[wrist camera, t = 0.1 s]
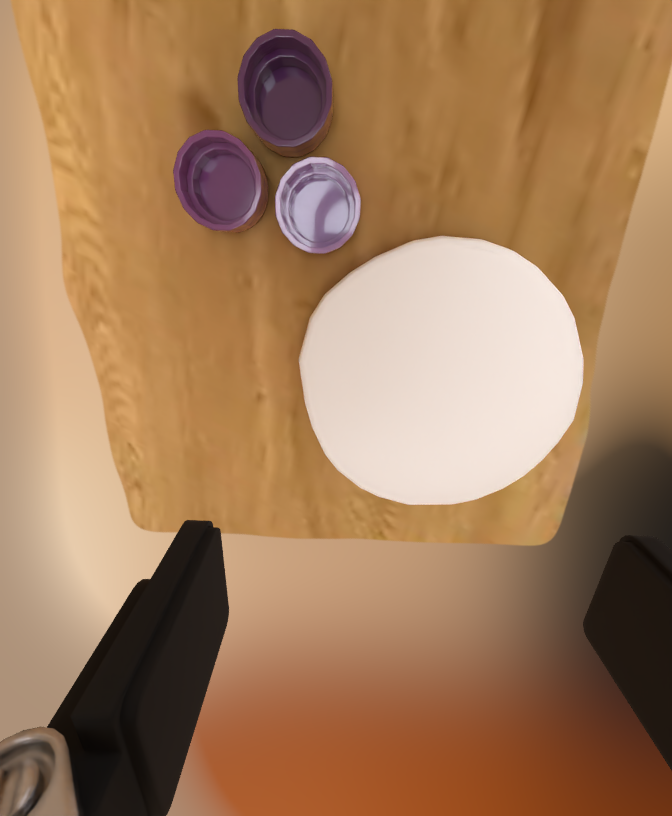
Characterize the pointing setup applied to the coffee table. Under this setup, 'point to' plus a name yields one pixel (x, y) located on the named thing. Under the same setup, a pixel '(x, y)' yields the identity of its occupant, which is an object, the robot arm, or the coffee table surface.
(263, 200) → the plum dish
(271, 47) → the aubergine dish
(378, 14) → the coffee table surface
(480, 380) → the plate
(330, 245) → the lilac dish
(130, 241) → the coffee table surface
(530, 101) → the coffee table surface
